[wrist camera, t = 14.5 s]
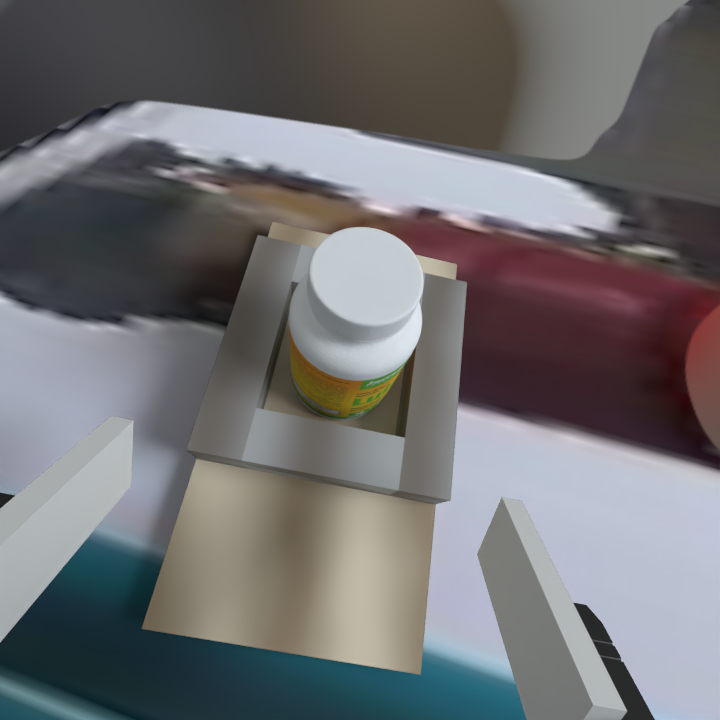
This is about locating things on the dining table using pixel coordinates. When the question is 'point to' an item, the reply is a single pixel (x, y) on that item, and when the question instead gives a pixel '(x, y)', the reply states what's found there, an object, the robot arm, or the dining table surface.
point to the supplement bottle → (354, 321)
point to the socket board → (313, 486)
